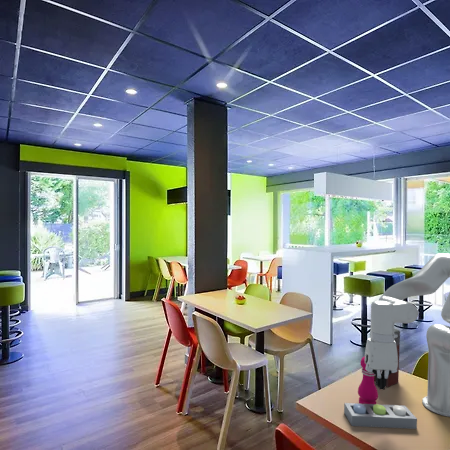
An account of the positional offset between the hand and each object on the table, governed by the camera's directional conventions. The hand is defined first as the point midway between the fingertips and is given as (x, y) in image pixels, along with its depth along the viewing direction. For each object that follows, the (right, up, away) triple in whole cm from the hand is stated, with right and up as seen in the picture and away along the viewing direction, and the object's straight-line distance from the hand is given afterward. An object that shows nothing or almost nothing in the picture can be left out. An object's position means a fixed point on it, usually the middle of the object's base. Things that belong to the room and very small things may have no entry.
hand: (380, 387), depth 117 cm
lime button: (-1, -11, 0) cm, 11 cm away
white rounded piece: (+6, -11, 0) cm, 13 cm away
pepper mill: (0, -12, +10) cm, 15 cm away
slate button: (-8, -11, 0) cm, 13 cm away
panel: (-1, -12, 0) cm, 12 cm away
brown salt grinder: (+16, -12, +31) cm, 37 cm away
